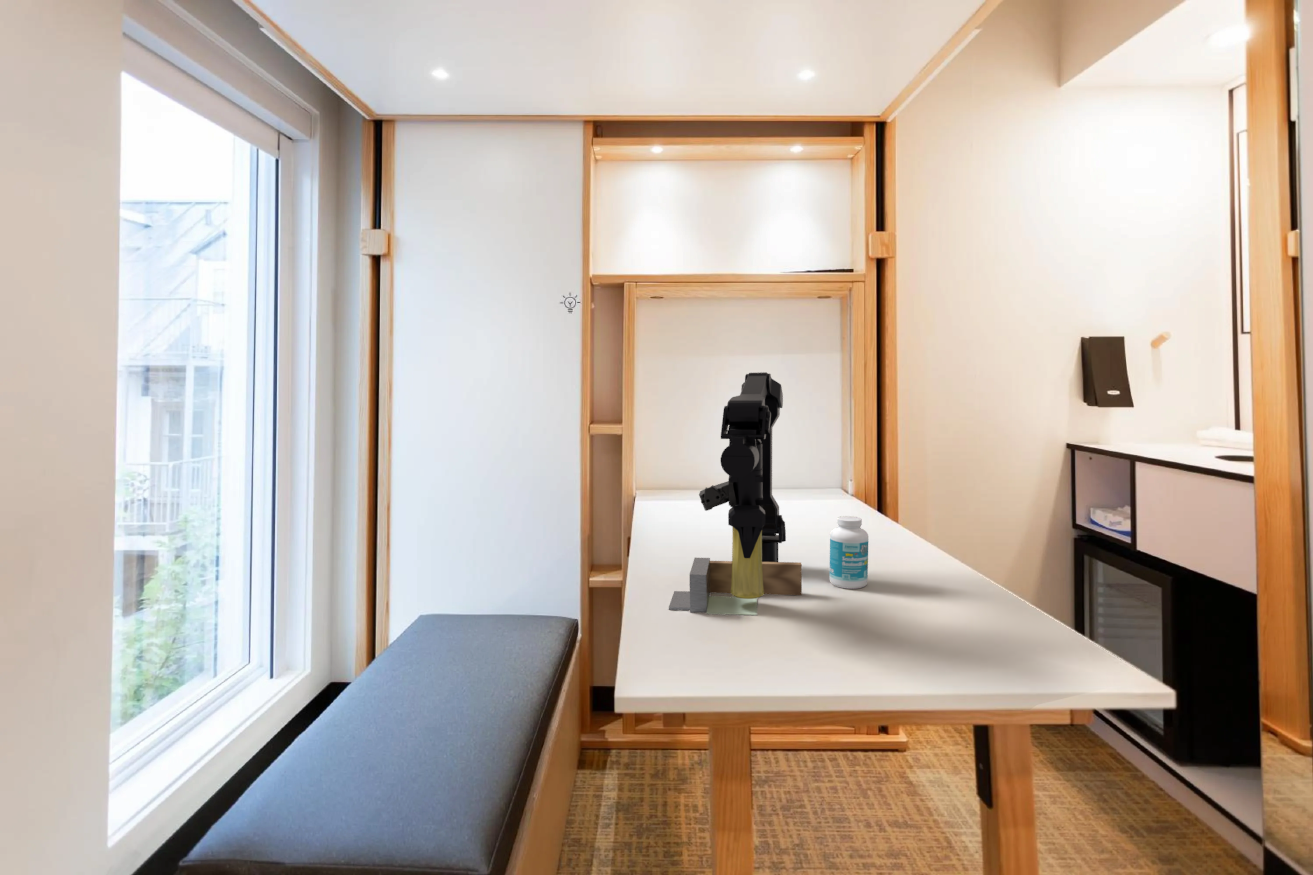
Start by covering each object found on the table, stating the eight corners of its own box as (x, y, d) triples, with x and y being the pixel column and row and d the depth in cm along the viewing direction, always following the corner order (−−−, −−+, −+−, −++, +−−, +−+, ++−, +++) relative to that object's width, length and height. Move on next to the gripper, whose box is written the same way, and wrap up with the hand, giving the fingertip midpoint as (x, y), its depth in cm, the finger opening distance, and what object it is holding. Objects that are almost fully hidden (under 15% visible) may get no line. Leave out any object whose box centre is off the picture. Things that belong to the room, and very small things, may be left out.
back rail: (801, 592, 129) (801, 562, 129) (801, 595, 128) (801, 564, 127) (695, 589, 132) (695, 560, 132) (695, 592, 131) (694, 562, 130)
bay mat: (756, 598, 127) (756, 597, 127) (757, 615, 118) (757, 614, 118) (709, 596, 128) (709, 595, 128) (706, 613, 119) (706, 612, 119)
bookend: (710, 592, 130) (710, 557, 130) (706, 612, 120) (706, 574, 119) (674, 591, 131) (674, 557, 131) (668, 611, 121) (667, 573, 120)
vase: (768, 590, 124) (767, 515, 122) (759, 600, 118) (758, 522, 117) (736, 586, 126) (735, 512, 125) (726, 596, 121) (725, 519, 119)
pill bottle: (843, 591, 129) (844, 523, 128) (822, 580, 136) (822, 516, 135) (875, 587, 132) (876, 520, 131) (853, 576, 139) (853, 512, 137)
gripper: (704, 462, 130) (705, 540, 132) (698, 477, 112) (699, 567, 113) (762, 461, 129) (762, 540, 130) (765, 477, 110) (765, 569, 112)
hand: (747, 553), depth 122 cm, fingers closed on vase, 5 cm apart
